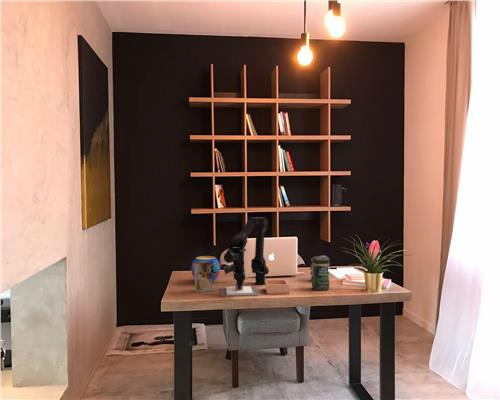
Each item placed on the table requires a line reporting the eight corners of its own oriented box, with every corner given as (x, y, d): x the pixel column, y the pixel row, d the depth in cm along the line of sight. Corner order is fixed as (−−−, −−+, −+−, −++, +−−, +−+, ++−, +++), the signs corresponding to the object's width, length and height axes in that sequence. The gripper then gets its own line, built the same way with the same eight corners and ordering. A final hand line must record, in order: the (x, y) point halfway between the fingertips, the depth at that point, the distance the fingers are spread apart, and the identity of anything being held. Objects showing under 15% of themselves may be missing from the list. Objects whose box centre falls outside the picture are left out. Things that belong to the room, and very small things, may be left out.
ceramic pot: (192, 286, 247) (192, 260, 246) (190, 279, 264) (190, 255, 264) (221, 284, 250) (221, 259, 250) (218, 277, 268) (218, 254, 267)
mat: (220, 288, 241) (220, 287, 241) (255, 287, 242) (255, 287, 242) (220, 296, 224) (220, 295, 224) (258, 295, 225) (258, 294, 225)
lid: (226, 288, 240) (226, 278, 239) (250, 287, 241) (250, 278, 240) (226, 294, 226) (226, 284, 225) (252, 294, 227) (252, 284, 226)
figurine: (331, 281, 256) (331, 257, 256) (313, 282, 254) (313, 258, 253) (325, 278, 265) (325, 254, 265) (308, 279, 263) (308, 255, 262)
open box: (264, 288, 240) (264, 279, 240) (285, 288, 241) (285, 279, 241) (267, 294, 228) (267, 285, 228) (289, 293, 229) (289, 284, 229)
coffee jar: (314, 291, 235) (314, 257, 234) (310, 287, 242) (310, 255, 242) (331, 290, 236) (331, 257, 235) (326, 286, 244) (326, 255, 243)
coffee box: (210, 288, 241) (210, 260, 241) (212, 291, 235) (212, 262, 235) (194, 289, 239) (194, 261, 238) (196, 292, 233) (196, 263, 232)
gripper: (224, 257, 241) (224, 284, 242) (224, 263, 222) (224, 292, 223) (243, 256, 242) (243, 283, 243) (245, 263, 223) (245, 292, 224)
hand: (239, 288), depth 233 cm, fingers open, 6 cm apart
